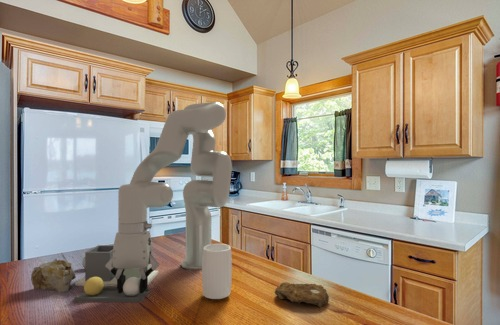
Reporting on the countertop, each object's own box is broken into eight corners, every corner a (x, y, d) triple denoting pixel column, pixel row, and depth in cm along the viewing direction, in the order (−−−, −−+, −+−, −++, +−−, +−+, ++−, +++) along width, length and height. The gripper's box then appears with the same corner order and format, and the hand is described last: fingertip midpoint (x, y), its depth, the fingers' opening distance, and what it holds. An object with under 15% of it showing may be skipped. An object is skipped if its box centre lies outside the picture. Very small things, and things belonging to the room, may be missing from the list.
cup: (198, 293, 86) (199, 245, 86) (226, 288, 90) (226, 242, 90) (206, 306, 78) (206, 253, 78) (235, 300, 82) (236, 249, 82)
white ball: (144, 291, 86) (144, 274, 86) (137, 299, 81) (137, 281, 81) (127, 291, 86) (127, 274, 86) (119, 299, 81) (119, 281, 81)
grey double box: (158, 274, 101) (158, 244, 101) (146, 287, 90) (147, 254, 90) (94, 273, 101) (94, 243, 101) (75, 287, 90) (75, 253, 90)
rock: (84, 281, 91) (72, 251, 91) (66, 293, 85) (53, 261, 84) (56, 289, 94) (44, 260, 94) (36, 301, 88) (24, 270, 88)
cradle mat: (151, 290, 88) (151, 286, 88) (141, 303, 80) (141, 299, 80) (87, 290, 88) (87, 285, 88) (71, 303, 80) (71, 298, 80)
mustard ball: (107, 291, 86) (107, 274, 86) (98, 299, 81) (98, 280, 81) (90, 290, 86) (90, 273, 86) (80, 298, 81) (80, 280, 81)
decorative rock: (275, 311, 77) (332, 313, 77) (276, 296, 77) (333, 298, 77) (272, 290, 89) (321, 292, 89) (273, 276, 88) (322, 278, 89)
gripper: (166, 225, 87) (166, 286, 87) (109, 224, 87) (108, 285, 87) (158, 231, 80) (158, 297, 80) (95, 230, 80) (95, 297, 80)
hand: (132, 290), depth 84 cm, fingers open, 5 cm apart
